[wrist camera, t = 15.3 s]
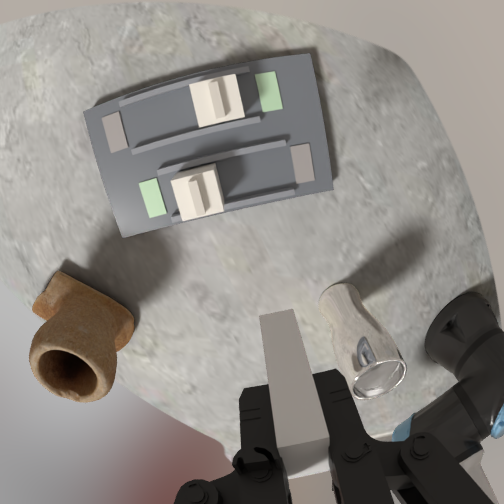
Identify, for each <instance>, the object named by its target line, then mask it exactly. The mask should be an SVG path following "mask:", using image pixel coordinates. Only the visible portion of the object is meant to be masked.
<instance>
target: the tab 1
mask: <svg viewBox="0 0 504 504" xmlns="http://www.w3.org/2000/svg"><path fill="white" fill-rule="evenodd" d="M189 87H190V91H191V95H192V99H193V104H194V108H195V112H196V116H197V120H198V125H199V127H203V126H207V125H211V124H216V123H220V122H224V121H229V120H233V119H238V118H243V117H245V115H244V110H243V106H242V101H241V97H240V92H239V88H238V84H237V79H236V75H235V74H232V75H227V76H222V77H218V78H213V79H209V80H205V81H201V82H197V83H193V84H189Z"/></svg>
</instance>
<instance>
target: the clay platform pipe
mask: <svg viewBox="0 0 504 504" xmlns="http://www.w3.org/2000/svg"><path fill="white" fill-rule="evenodd" d="M32 310H33V312H34V313H35V314H37V315H39V316H40V317H42V318H43V319H45V320H46V321H47V322H45V323H44V324H43V325H42V326H41V327H40V328H39V330H38V331H37V332H36V334H35V335H34V338H33V340H32V344H31V348H30V353H29V362H30V365H31V369H32V372H33V374H34V376H35V377H36V379H37V380H38V381H39V382H40V383H41V384H42V386H44V387H45V388H46V389H47V390H48V391H49V392H51V393H53V394H55V395H57V396H60V397H64V398H68V399H71V400H73V401H76V402H91V401H96V400H99V399H101V398H102V397H104V396H105V395H107V394H108V392H109V391H110V389H111V388H112V385H113V383H114V379H115V374H116V367H117V354H116V352H117V351H119V350H121V349H122V348H123V347H124V346H125V345H126V344H127V343H128V342H129V341H130V339H131V337H132V335H133V332H134V328H135V327H134V317H133V315H132V314H131V313H130V311H129V310H127V309H126V308H125V307H124V306H122V305H121V304H119V303H118V302H116V301H115V300H113V299H112V298H110V297H108V296H106V295H104V294H102V293H101V292H99V291H97V290H95V289H93V288H91V287H89V286H88V285H86V284H84V283H82V282H80V281H78V280H76V279H74V278H72V277H70V276H69V275H67V274H65V273H63V272H61V271H57V272H56V273H55V274H54V276H53V277H52V279H51V281H50V283H49V284H48V286H47V288H46V290H45V291H44V292H42V293H41V294H40V295H39V296H38V297H37V299H36V301H35V302H34V304H33V308H32Z"/></svg>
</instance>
